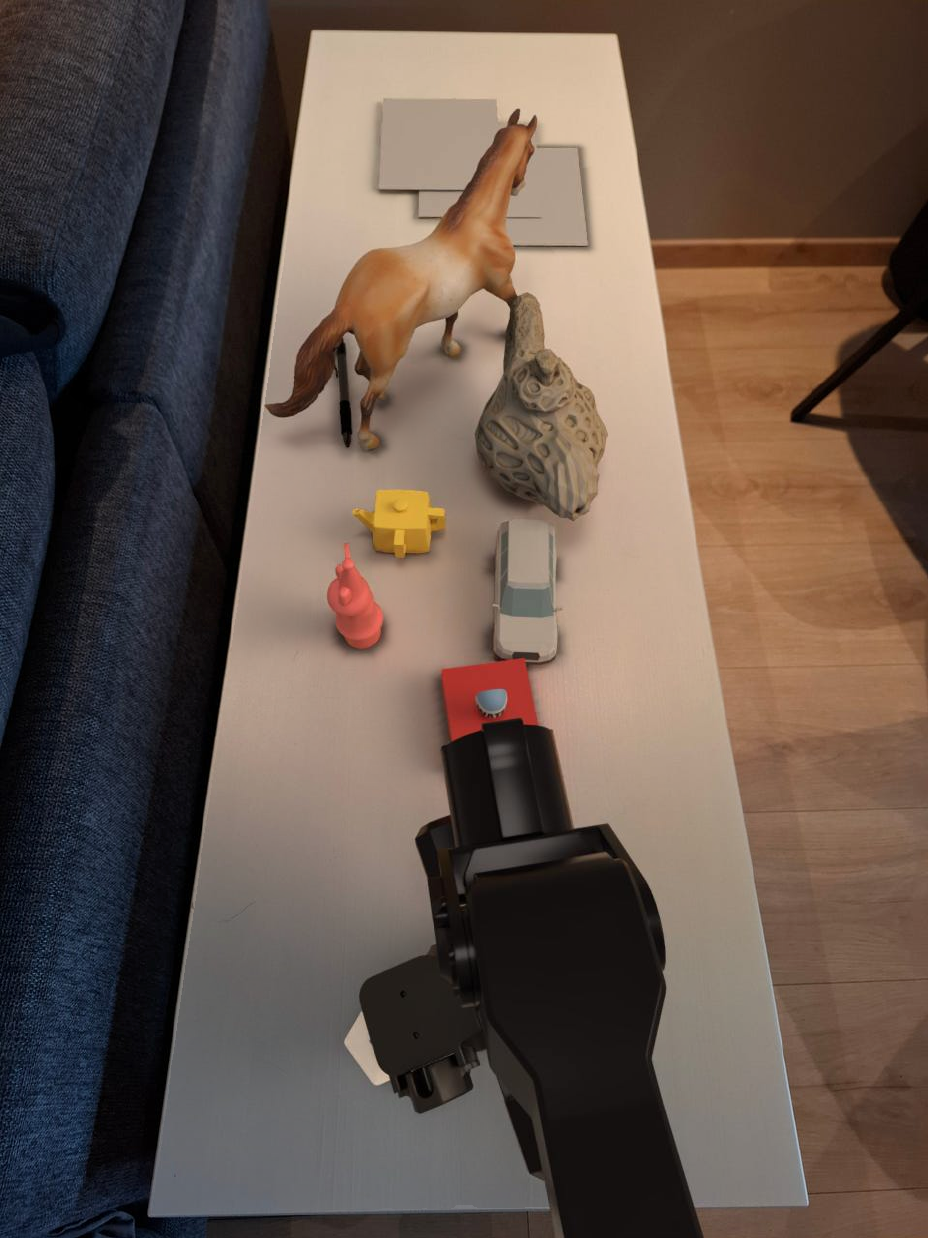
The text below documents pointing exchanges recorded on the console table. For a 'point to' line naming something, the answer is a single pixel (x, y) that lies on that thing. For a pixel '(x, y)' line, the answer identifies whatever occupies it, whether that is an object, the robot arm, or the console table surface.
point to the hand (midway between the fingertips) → (509, 983)
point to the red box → (486, 695)
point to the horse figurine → (420, 282)
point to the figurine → (354, 605)
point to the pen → (344, 394)
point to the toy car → (525, 592)
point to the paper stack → (448, 158)
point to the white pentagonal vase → (364, 1051)
